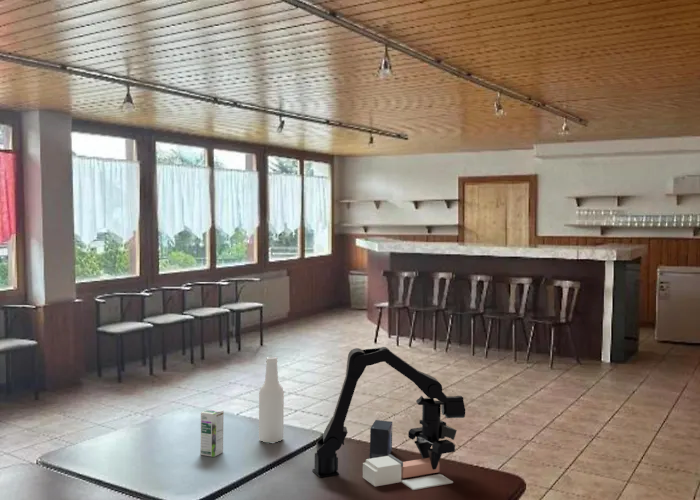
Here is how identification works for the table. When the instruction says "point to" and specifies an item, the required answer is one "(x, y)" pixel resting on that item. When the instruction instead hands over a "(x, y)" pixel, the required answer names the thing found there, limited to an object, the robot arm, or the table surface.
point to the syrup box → (211, 432)
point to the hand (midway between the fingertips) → (430, 467)
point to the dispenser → (382, 470)
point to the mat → (426, 481)
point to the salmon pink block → (417, 468)
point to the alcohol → (271, 405)
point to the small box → (380, 439)
